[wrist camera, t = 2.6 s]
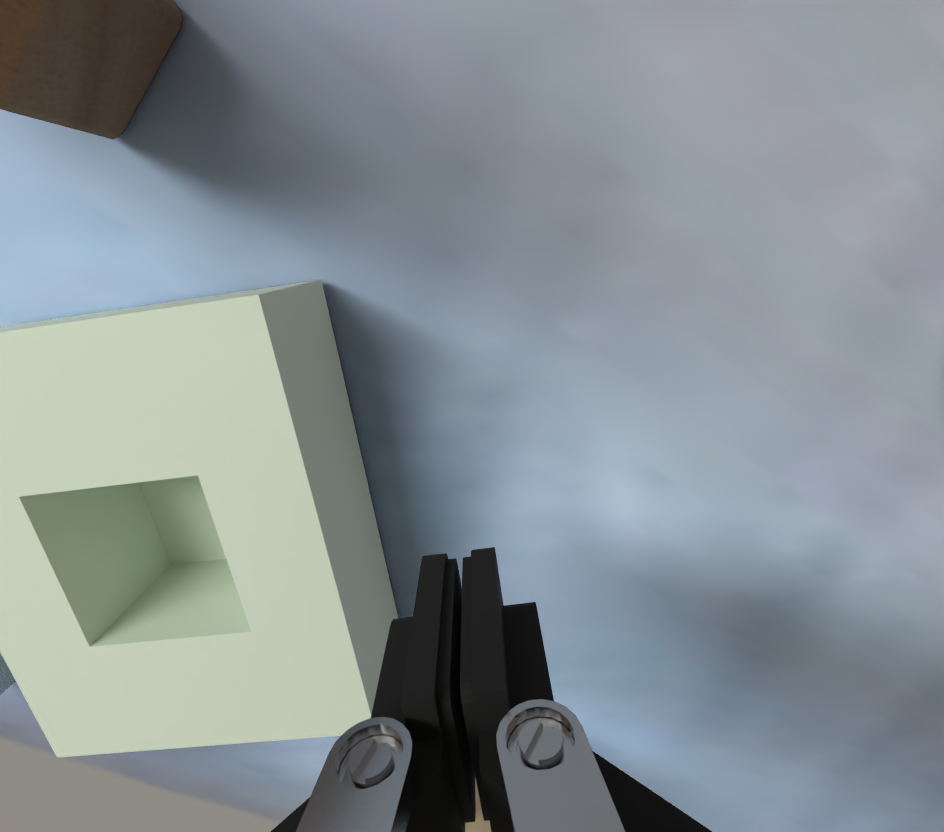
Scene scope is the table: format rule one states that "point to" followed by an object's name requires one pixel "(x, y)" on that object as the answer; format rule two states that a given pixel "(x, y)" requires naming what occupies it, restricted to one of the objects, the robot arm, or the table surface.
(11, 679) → the backstop board
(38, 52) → the wooden block
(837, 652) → the table surface
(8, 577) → the socket block
